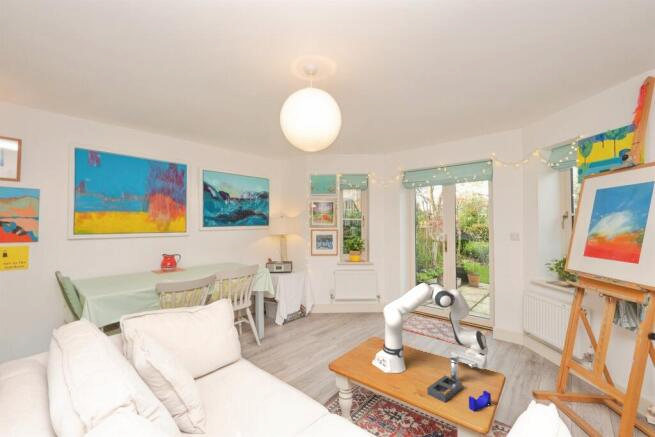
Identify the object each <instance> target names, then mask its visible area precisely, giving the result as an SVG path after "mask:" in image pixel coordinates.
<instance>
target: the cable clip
mask: <svg viewBox="0 0 655 437" xmlns="http://www.w3.org/2000/svg"><path fill="white" fill-rule="evenodd" d="M491 396H492V395H491V393H490V392H489V391H487V390H483V391H482V394H481V395H479V396H478V397H477V399H476V398H474V397H473V396H472V395H470V396H468V408H469V410H471V411H472V412H474V413H475V412H478V411H479V410H482V408H483V409H485V408H487V407H489V406H488V404H489V405H490V406H492V399H491ZM484 407H485V408H484Z"/></svg>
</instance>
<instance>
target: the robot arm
mask: <svg viewBox="0 0 655 437" xmlns="http://www.w3.org/2000/svg"><path fill="white" fill-rule="evenodd" d="M429 300H431V301H432V302H433V303H434V304H436V306H438V307H440V308H449V309H450V310H449V314H448V316H449V321H450V326H451V328H452V331H453V334H454V339H455V340H454V341H455V342H456V343H457V344H458V345H459V346H460V347H461V346H462V347H463V346H465V347H466V346H469V348H468V349H466V350H465V351H462V350H453V351H451V352H450V358H452V357H453V358H457V359H458V360H459V362H461V363H464V364H467V365H468V366H469V368H477V369H480V370H484V369H485V370H486V368H487V366H488V358H487V356H488V354H489V347H488V345H487V340H486V337H485V335H484V334H483V333H482V331H480V330H471V329H469V330H467V329H462V328H461V324H460V321H461V320H464V319H465V318H466V317H468V315H469V314H470V310H471V309H470V306H469V303H468V302H467V300H466V298H465V297H464V296H463V294H462V292H461V291H460V289H457V288H451V289H449V290H447V289H446V288H445V287H444V286H442V285H441V284H439V283H437V282H432V283H426V282H422V283H420V284H417V285H415V286H414V287H413V288H412V289H410V290H409V291H408V292H406V293H405V294H404V295H402V296H401V297H400V298H397V299H395V300H394V301H392V302H389V303H387V304H385V306H384V307H383V312H382V314H383V319H384V326H385V327H384V344H382V345H381V348H382V349H381V350H379V351H378V352H377V353H376V354H375V358H374V359H372V362H371V365H373V366H375V367H376V368H377V369H378V370H381V371H382V372H383V373H386V374H390V373H391V374H392V373H393V374H400V373H403V372H405V371H406V369H407V367H406V363H405V359H404V345H403V331H404V330H403V329H404V327H403V325H404V316H405V315H407V314H410V313H412V312H414V311H416V310H418V308H420V306H423V304H424V303H425V302H427V301H429Z"/></svg>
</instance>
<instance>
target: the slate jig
mask: <svg viewBox="0 0 655 437" xmlns="http://www.w3.org/2000/svg"><path fill="white" fill-rule="evenodd" d="M462 389H463V382H462V381H460V380H459V381H458V380H455V379H453V378H451V376H448V375H443V376H442V377H441V378H438V380H436V381H434V382H433V383H432V384H430V385H429V386H428V387H427V391H426V392H427V395H428V396H430V397H432V398H434V399H437V400H438V401H441V402H442V403H446V402H448V401H449V400H450V399H451V398H453V397H454V396H455V395H456V394H457V393H459V392H460V391H461V390H462Z"/></svg>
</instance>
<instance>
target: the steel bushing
mask: <svg viewBox="0 0 655 437" xmlns="http://www.w3.org/2000/svg"><path fill="white" fill-rule="evenodd" d="M448 361H449V364H450V366H449V367H450V378H453V379H455V380H458V381H460V378H459V363H460V361H459V360H458V359H457V358H453V357H452V358H451V357H449V360H448Z"/></svg>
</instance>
